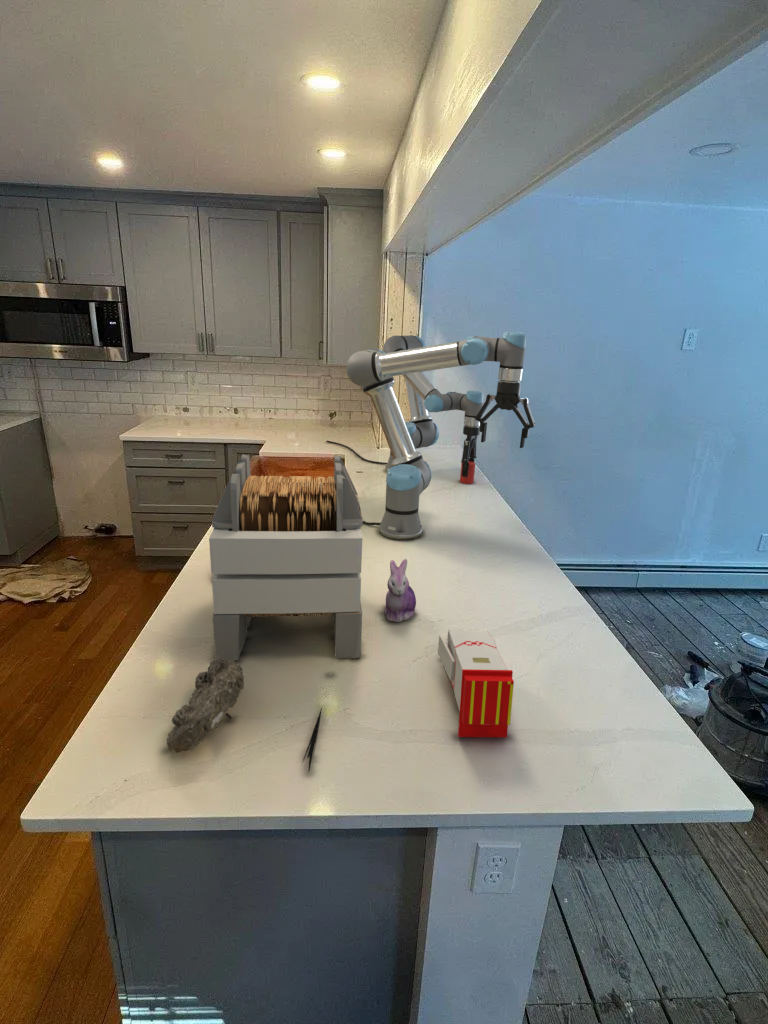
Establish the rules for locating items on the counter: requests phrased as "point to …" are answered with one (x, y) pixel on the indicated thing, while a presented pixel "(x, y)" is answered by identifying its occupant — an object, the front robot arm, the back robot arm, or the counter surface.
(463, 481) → the canister
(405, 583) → the figurine
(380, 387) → the front robot arm
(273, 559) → the record crate
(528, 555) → the counter surface
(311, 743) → the feather
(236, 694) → the fossil
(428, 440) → the back robot arm
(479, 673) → the toy
